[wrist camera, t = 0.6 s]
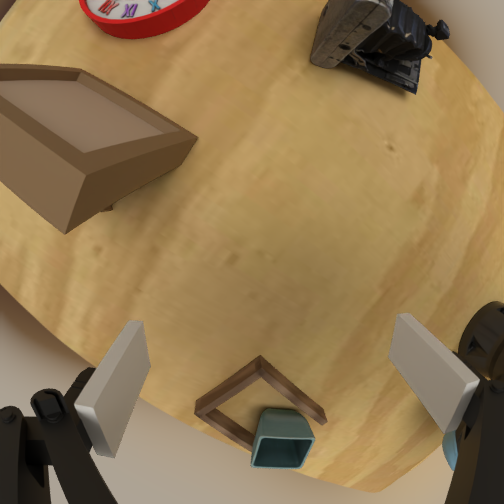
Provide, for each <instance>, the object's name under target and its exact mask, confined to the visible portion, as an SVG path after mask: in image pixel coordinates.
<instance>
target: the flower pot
mask: <svg viewBox="0 0 504 504" xmlns="http://www.w3.org/2000/svg"><path fill="white" fill-rule="evenodd" d="M314 442H315V437H314V435H313V432H312V430H311V428H310V426H309V424H308V422H307V420H306V419H305V418H304V417H303V416H302V415H301V414H300V413H298V412H296V411H294V410H283V409H270V408H268V409H266V410H265V411H264V412H263V413H262V415H261V417H260V421H259V425H258V429H257V432H256V436H255V439H254V442H253V448H252V456H251V467H253V468H272V469H300V468H302V466H303V464H304V462H305V460H306V458H307V456H308V454H309V452H310V450H311V448H312V446H313V444H314Z"/></svg>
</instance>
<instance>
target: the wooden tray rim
mask: <svg viewBox="0 0 504 504" xmlns="http://www.w3.org/2000/svg"><path fill="white" fill-rule="evenodd" d="M260 377H262V378H263V379H264V380H265V381H266V382H268V383H269V384H270V385H271V386H272V387H274V388H275V389H276V390H277V391H278V392H280V393H281V394H282V395H283V396H285V397H286V398H287V399H288V400H290V401H291V402H292V403H293V404H295V405H296V406H297V407H298V408H300V409H301V410H302V411H304V412H305V413H306V414H307V415H309V416H310V417H311V418H313V419H314V420H315V421H317V422H318V423H319V424H321V425H324V424H325V423H327V419H326V416H325V413H324V410H323V408H321V407H320V406H319V405H318V404H316V403H315V402H314V401H313V400H312V399H310V398H309V397H308V396H307V395H306V394H304V393H303V392H302V391H301V390H300V389H299V388H297V387H296V386H295V385H294V384H293V383H291V382H290V381H289V380H288V379H287V378H286V377H285V376H283V375H282V374H281V373H280V372H279V371H278V370H277V369H275V368H274V367H273V366H272V365H271V364H270V363H269V362H267V361H266V360H265V359H264V358H263V357H262V356H261V355H260V356H258V357H257V358H256V359H254V360H253V361H252V362H250V363H249V364H248V365H246V366H245V367H244V368H242V369H241V370H239V371H238V372H237V373H235V374H234V375H232V376H231V377H230V378H228V379H227V380H225V381H224V382H223V383H221V384H220V385H218V386H217V387H216V388H214V389H213V390H211V391H210V392H208V393H207V394H205V395H204V396H202V397H201V398H200V399H198V400H197V401H196V406H195V412H194V414H195V415H196V416H198V417H199V418H200V419H202V420H203V421H205V422H206V423H207V424H209V425H210V426H212V427H213V428H215V429H216V430H218V431H219V432H221V433H222V434H224V435H225V436H227V437H228V438H230V439H231V440H233V441H234V442H236V443H238V444H239V445H241V446H242V447H244V448H246V449H247V450H249V451H251V452H252V448H253V442H254V439H255V435H253V434H252V433H250V432H249V431H247V430H246V429H244V428H243V427H241V426H240V425H238V424H237V423H235V422H234V421H232V420H231V419H230V418H228V417H227V416H225V415H224V414H223V413H221V412H220V411H219V410H217V409H216V407H218V406H219V405H221V404H222V403H224V402H225V401H227V400H228V399H230V398H231V397H233V396H234V395H236V394H237V393H239V392H240V391H242V390H243V389H244V388H246V387H247V386H249V385H250V384H252V383H253V382H255V381H256V380H257V379H259V378H260Z"/></svg>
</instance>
